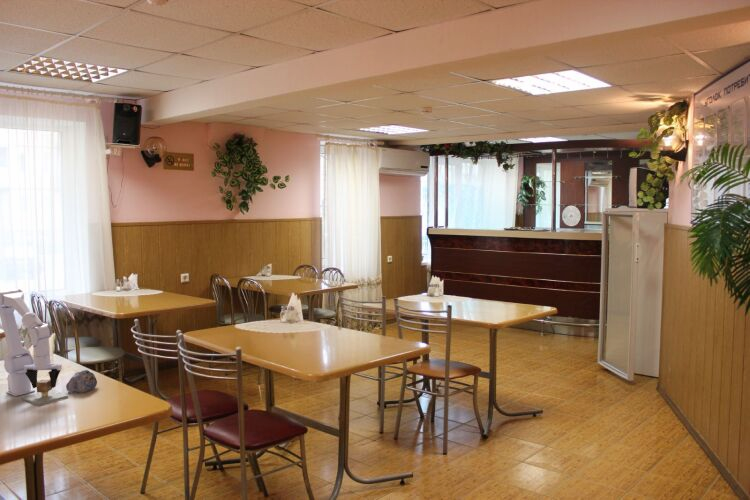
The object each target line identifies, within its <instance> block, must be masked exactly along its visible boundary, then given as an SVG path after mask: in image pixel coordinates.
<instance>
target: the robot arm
mask: <svg viewBox="0 0 750 500" xmlns="http://www.w3.org/2000/svg"><path fill="white" fill-rule="evenodd" d="M15 311H16V312H17V313H18V314H19V315H20V316H21V318H22V319H21V322H22V324H23V325H24V326H25V327H26V329H27V330H28V331H29V333H28V335H29V339H30V340H31V345H32V346H33V356H32V353H31V351H30V350H29V349H27V348H25V347H23V343H22V340H21V335H20V331H19V328H18V324H17V320H16V316H15V314H14V312H15ZM0 321H1V325H2V329H3V332H4V333H3V334H4V336H5V340H6V344H7V348H8V351H7V352H6V353H5V355H4V356H3V362H4V365H3V366H4V369H5V371H6V373H8V374H7V388H8V389H7V390H6V392H5V393H7V394H9V395H11V396H14V397H18V396H22V395H26V394H30V393H34V392H35V391H36V390H35V389H37V385H36V383H37V382H38V372H39V371H48V375H49V380H51V388H52V389H54V388H56V385H57V381H58V377H59V374H61V371H62V369H63V366H62V364H58V363H51V350H50V338H51V337H52V328H51V325H49V324H48V323H45V322H42V320H41V319H40V318H39V316H38V315H37V314H36V313H35V312H31V310H30V308H29V307H28V305H27V303H26V302H25V295H24V293H23V290H22V289H21V288H19V287H17V288H16V287H15V288H11V289H5V290H0Z"/></svg>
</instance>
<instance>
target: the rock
mask: <svg viewBox="0 0 750 500" xmlns="http://www.w3.org/2000/svg"><path fill="white" fill-rule="evenodd" d="M95 375H96V374H94V373H93V372H91V371H90V370H88V369H84V370H82V371H78V372H77V371H76V372H75V373H74V375H73V376H71V377H70V379H69V380H68V382H67V383H66V385H65V388H66V391H67V392H70V393H71V394H75V393H78V394H79V393H85V392H90V391H93V390H94V389H95V388H96V387H97V384H98V379H97V378H96V376H95Z"/></svg>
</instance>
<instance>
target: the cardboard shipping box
mask: <svg viewBox="0 0 750 500" xmlns="http://www.w3.org/2000/svg"><path fill="white" fill-rule="evenodd" d="M36 385H37V387H36V393H40V392H48V391H50V390H51V389H52V390H53V388H51V380H50V379H40V380H39V381H37V383H36Z"/></svg>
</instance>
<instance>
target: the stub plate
mask: <svg viewBox="0 0 750 500" xmlns="http://www.w3.org/2000/svg"><path fill="white" fill-rule="evenodd" d="M65 399H69V395H68V394H66V393H63V392H60V391H57V390H55V389H53V388H52V389H51V390H50V391H48V392H36V393H32V394H29V395H25V396H22V397H21V400H22V401H25V402H27V403H30V404H32V405H34V406H38V407H40V406H43V405H46V404H51V403H54V402H58V401H61V400H65Z"/></svg>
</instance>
